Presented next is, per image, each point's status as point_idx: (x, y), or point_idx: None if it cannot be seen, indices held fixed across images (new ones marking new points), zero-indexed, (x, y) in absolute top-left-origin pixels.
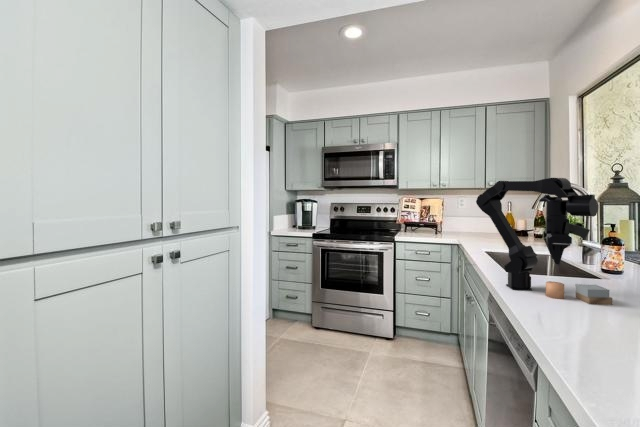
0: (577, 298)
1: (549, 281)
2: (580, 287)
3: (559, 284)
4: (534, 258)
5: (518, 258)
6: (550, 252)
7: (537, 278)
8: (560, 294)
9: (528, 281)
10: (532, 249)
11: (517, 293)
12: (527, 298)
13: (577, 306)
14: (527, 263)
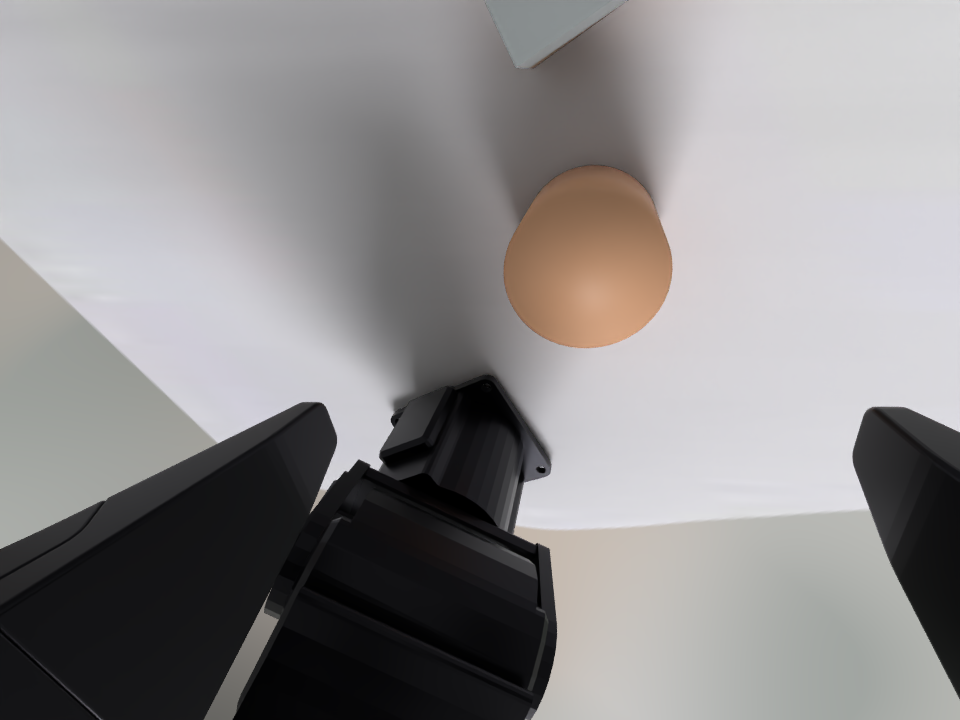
0: (557, 50)
1: (522, 319)
2: (608, 5)
3: (617, 237)
4: (373, 581)
5: (531, 710)
6: (280, 555)
7: (118, 334)
8: (650, 202)
9: (457, 428)
10: (255, 703)
11: (621, 448)
12: (739, 402)
13: (873, 39)
14: (535, 605)
